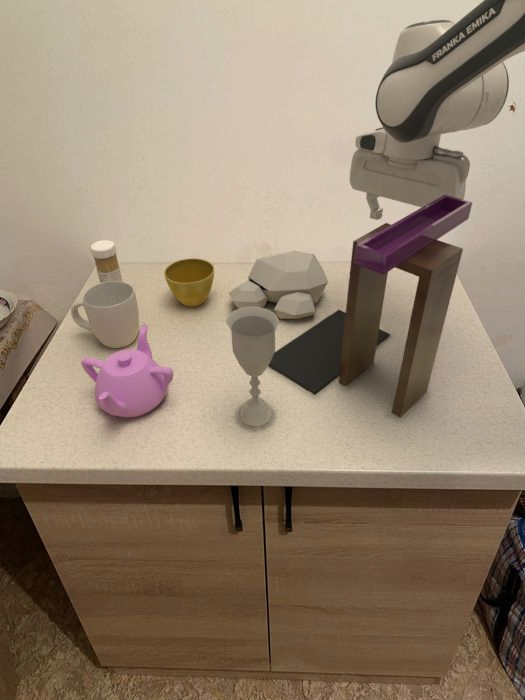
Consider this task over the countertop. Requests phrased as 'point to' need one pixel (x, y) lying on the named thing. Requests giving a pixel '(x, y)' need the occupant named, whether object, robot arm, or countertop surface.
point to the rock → (283, 284)
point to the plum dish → (411, 234)
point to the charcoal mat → (315, 354)
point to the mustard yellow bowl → (190, 280)
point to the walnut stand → (425, 324)
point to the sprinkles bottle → (106, 261)
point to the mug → (110, 313)
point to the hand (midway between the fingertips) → (398, 225)
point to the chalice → (253, 355)
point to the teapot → (129, 380)
